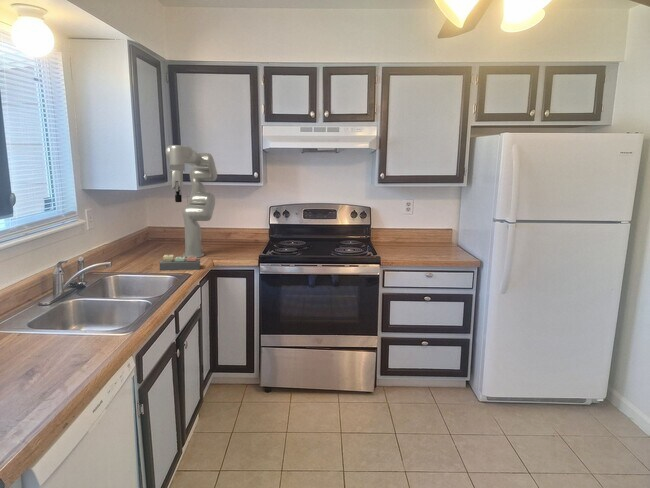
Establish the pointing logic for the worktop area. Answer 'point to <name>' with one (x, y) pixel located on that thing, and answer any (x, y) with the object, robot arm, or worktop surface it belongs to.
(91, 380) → the worktop surface
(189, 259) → the tile three
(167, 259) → the tile one
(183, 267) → the console
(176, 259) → the tile two
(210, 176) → the robot arm
